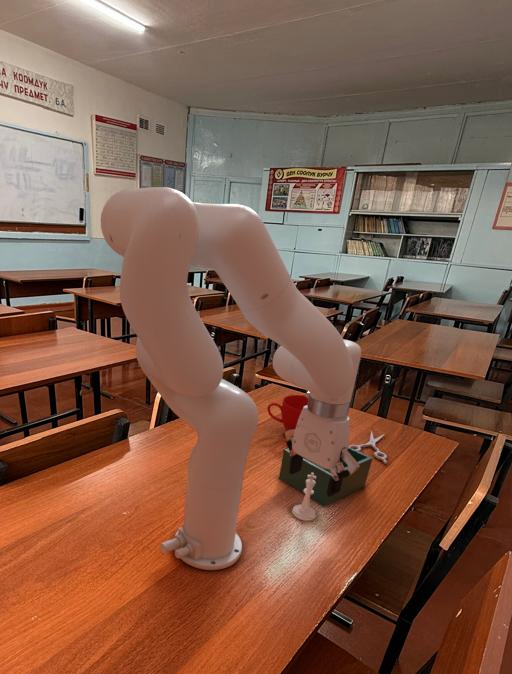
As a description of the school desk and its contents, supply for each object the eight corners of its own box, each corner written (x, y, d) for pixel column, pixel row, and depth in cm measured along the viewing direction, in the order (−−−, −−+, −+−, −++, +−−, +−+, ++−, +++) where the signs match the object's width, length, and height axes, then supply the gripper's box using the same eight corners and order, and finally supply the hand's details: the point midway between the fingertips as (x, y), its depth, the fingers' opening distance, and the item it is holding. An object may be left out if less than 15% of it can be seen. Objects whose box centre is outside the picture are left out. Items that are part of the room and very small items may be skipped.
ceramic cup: (264, 421, 135) (268, 391, 131) (319, 428, 134) (325, 397, 130) (264, 439, 124) (269, 406, 120) (324, 447, 122) (331, 414, 118)
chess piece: (316, 522, 90) (325, 481, 86) (291, 518, 91) (300, 477, 86) (315, 509, 94) (324, 469, 90) (292, 505, 95) (300, 465, 91)
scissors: (346, 450, 120) (360, 425, 136) (345, 452, 120) (360, 428, 136) (386, 462, 115) (397, 435, 131) (386, 464, 115) (396, 437, 131)
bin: (324, 506, 96) (332, 476, 92) (278, 478, 105) (283, 449, 102) (364, 486, 105) (372, 458, 101) (319, 461, 114) (325, 435, 111)
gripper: (280, 395, 86) (269, 469, 93) (356, 427, 74) (336, 510, 81) (305, 388, 90) (292, 459, 98) (380, 418, 78) (360, 497, 86)
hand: (312, 482), depth 90 cm, fingers open, 9 cm apart
